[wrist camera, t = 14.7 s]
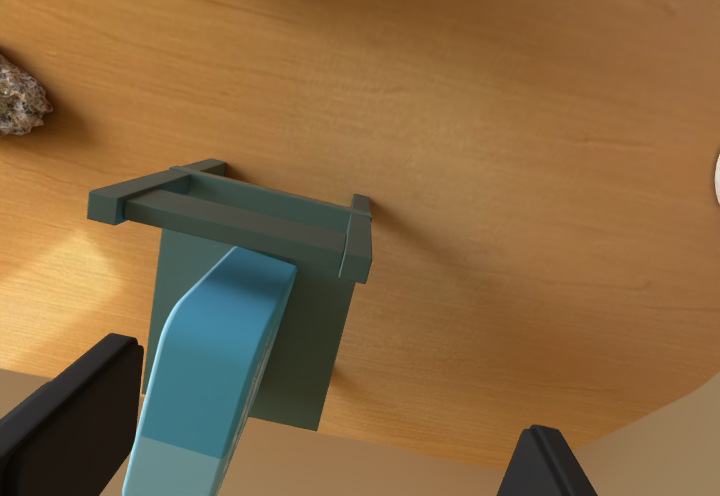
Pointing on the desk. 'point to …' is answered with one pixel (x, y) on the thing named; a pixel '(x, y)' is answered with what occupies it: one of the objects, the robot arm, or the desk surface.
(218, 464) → the light blue rounded block
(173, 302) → the chair
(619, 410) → the desk surface
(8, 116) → the mineral rock
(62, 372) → the robot arm
